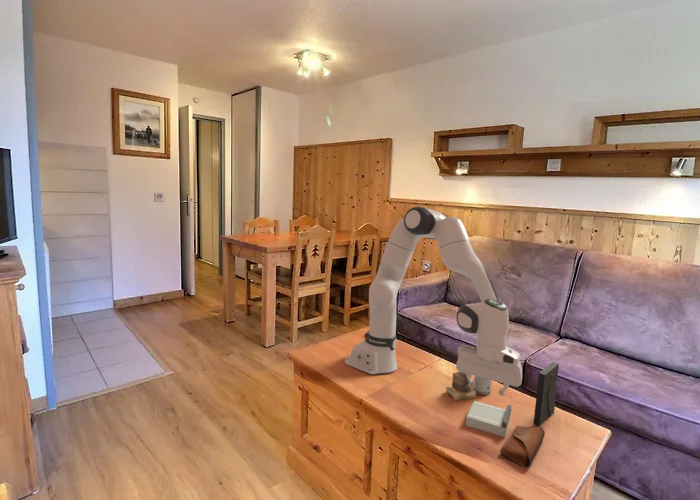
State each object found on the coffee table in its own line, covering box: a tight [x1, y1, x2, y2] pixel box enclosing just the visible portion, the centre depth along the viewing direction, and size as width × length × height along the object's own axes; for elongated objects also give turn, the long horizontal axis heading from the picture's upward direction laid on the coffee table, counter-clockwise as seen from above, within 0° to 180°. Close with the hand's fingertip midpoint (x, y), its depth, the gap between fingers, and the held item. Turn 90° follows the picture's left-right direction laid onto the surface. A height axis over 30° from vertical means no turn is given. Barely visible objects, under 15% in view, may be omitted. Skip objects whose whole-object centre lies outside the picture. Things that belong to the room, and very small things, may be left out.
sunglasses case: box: [499, 425, 546, 468], centre depth 116 cm, size 18×7×7 cm
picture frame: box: [533, 362, 560, 427], centre depth 132 cm, size 13×2×18 cm, turn 135°
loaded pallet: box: [445, 371, 477, 401], centre depth 147 cm, size 9×6×8 cm, turn 109°
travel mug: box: [473, 376, 493, 396], centre depth 149 cm, size 6×7×20 cm
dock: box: [465, 400, 512, 438], centre depth 129 cm, size 12×12×5 cm
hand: (486, 390), depth 129 cm, fingers open, 8 cm apart
